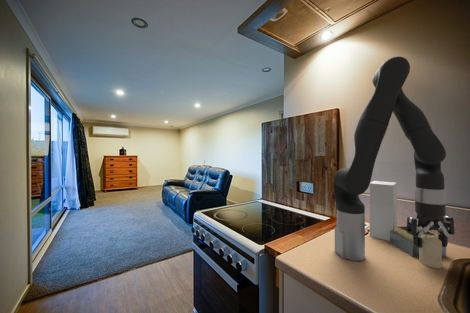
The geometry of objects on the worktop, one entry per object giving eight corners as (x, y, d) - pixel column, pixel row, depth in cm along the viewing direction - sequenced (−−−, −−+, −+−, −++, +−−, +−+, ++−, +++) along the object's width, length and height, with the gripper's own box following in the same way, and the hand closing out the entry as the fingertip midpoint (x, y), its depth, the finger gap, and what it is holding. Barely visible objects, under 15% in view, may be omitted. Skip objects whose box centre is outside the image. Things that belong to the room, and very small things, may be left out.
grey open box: (412, 256, 71) (412, 236, 71) (389, 242, 82) (389, 225, 82) (446, 256, 71) (446, 236, 71) (418, 242, 82) (418, 225, 82)
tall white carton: (393, 242, 82) (393, 185, 82) (369, 236, 89) (369, 182, 88) (397, 236, 88) (397, 182, 88) (373, 230, 95) (373, 180, 94)
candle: (446, 269, 63) (446, 239, 63) (427, 267, 65) (427, 238, 64) (433, 260, 69) (433, 232, 69) (415, 258, 70) (415, 231, 70)
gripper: (419, 204, 63) (420, 252, 63) (463, 202, 63) (463, 251, 63) (400, 198, 71) (400, 242, 71) (438, 197, 70) (439, 240, 71)
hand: (430, 246), depth 67 cm, fingers open, 8 cm apart
